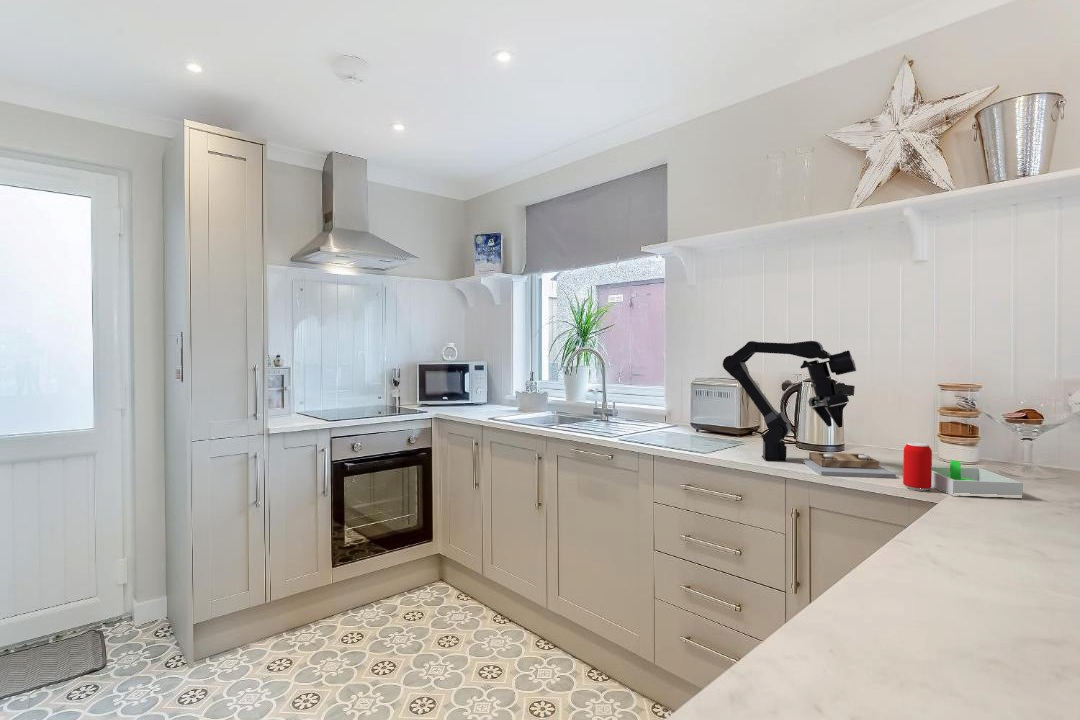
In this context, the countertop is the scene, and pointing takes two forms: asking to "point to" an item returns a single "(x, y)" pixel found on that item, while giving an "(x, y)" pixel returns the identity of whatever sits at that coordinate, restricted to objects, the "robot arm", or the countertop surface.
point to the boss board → (849, 469)
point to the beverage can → (917, 466)
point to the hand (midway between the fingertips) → (835, 426)
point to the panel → (843, 460)
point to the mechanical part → (956, 471)
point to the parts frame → (975, 482)
